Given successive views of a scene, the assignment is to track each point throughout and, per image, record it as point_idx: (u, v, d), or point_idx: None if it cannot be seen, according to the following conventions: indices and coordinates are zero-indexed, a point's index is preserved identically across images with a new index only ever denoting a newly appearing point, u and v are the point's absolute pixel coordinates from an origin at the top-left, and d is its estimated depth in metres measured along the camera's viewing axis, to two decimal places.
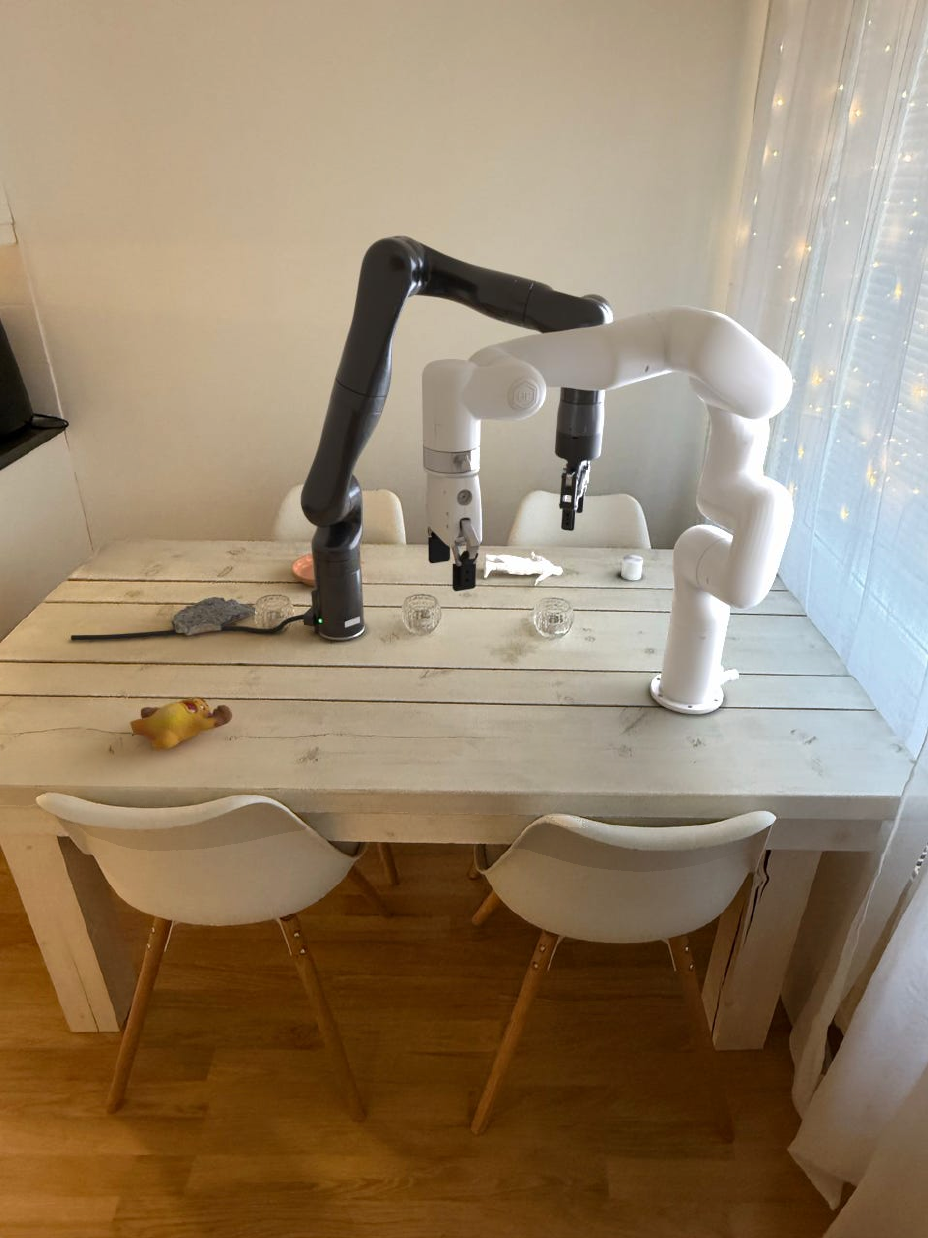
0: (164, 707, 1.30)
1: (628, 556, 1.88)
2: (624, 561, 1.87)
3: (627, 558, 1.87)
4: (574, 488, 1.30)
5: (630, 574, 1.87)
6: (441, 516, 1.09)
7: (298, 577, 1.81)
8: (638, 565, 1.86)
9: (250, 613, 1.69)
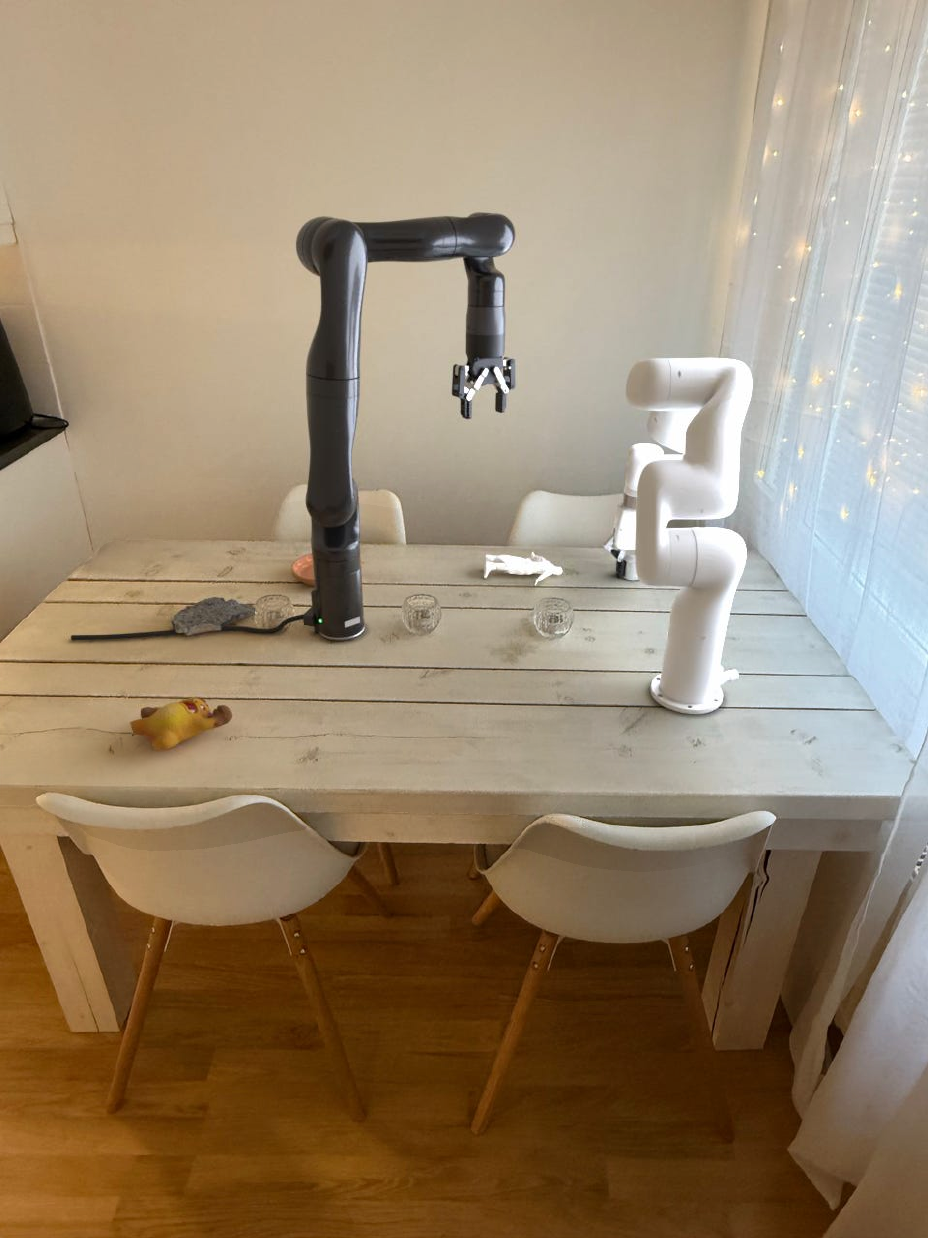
0: (164, 707, 1.30)
1: (628, 556, 1.88)
2: (624, 561, 1.87)
3: (627, 558, 1.87)
4: None
5: (630, 574, 1.87)
6: None
7: (298, 577, 1.81)
8: None
9: (250, 613, 1.69)
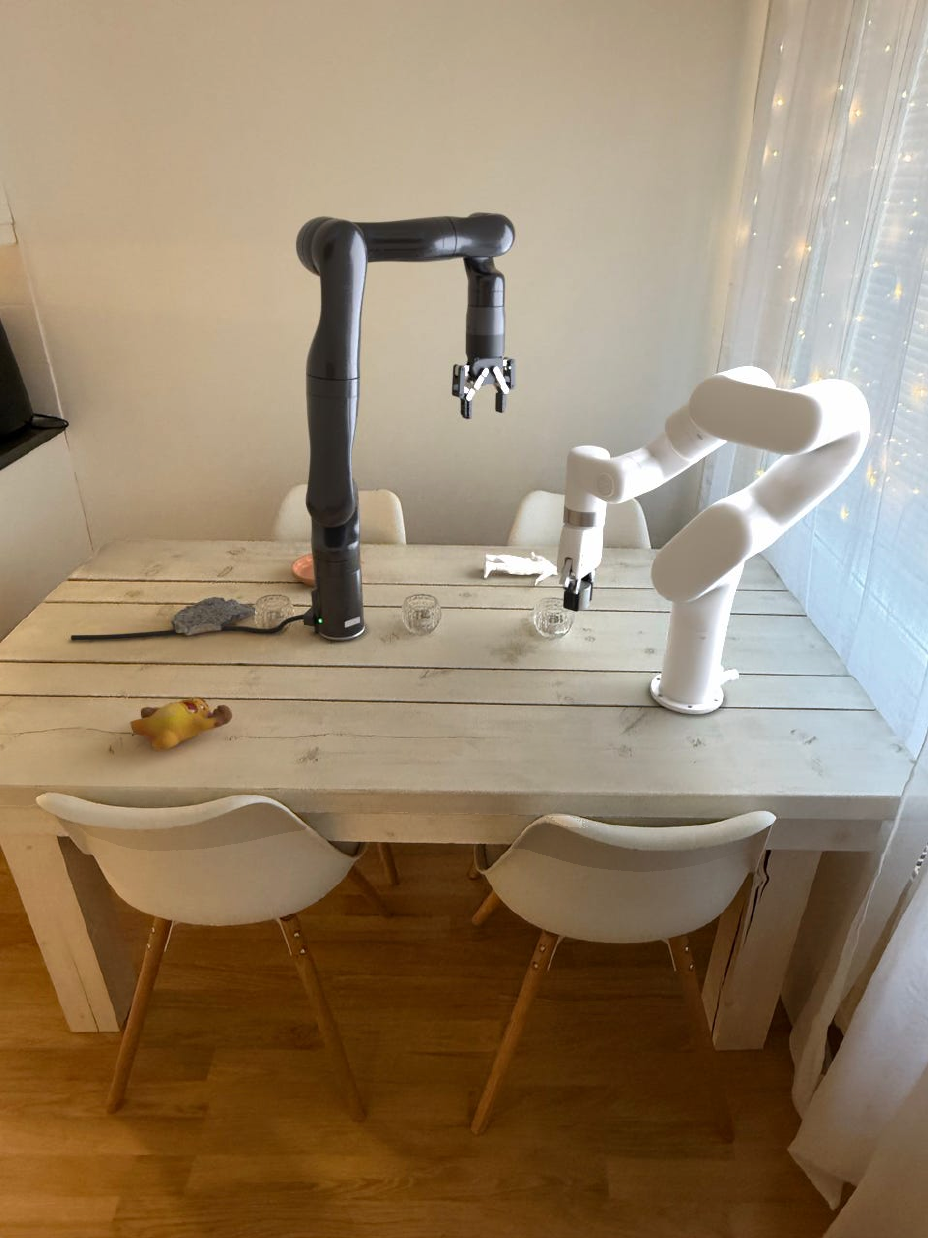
0: (164, 707, 1.30)
1: None
2: None
3: None
4: None
5: (585, 602, 1.55)
6: (598, 549, 1.52)
7: (298, 577, 1.81)
8: None
9: (250, 613, 1.69)
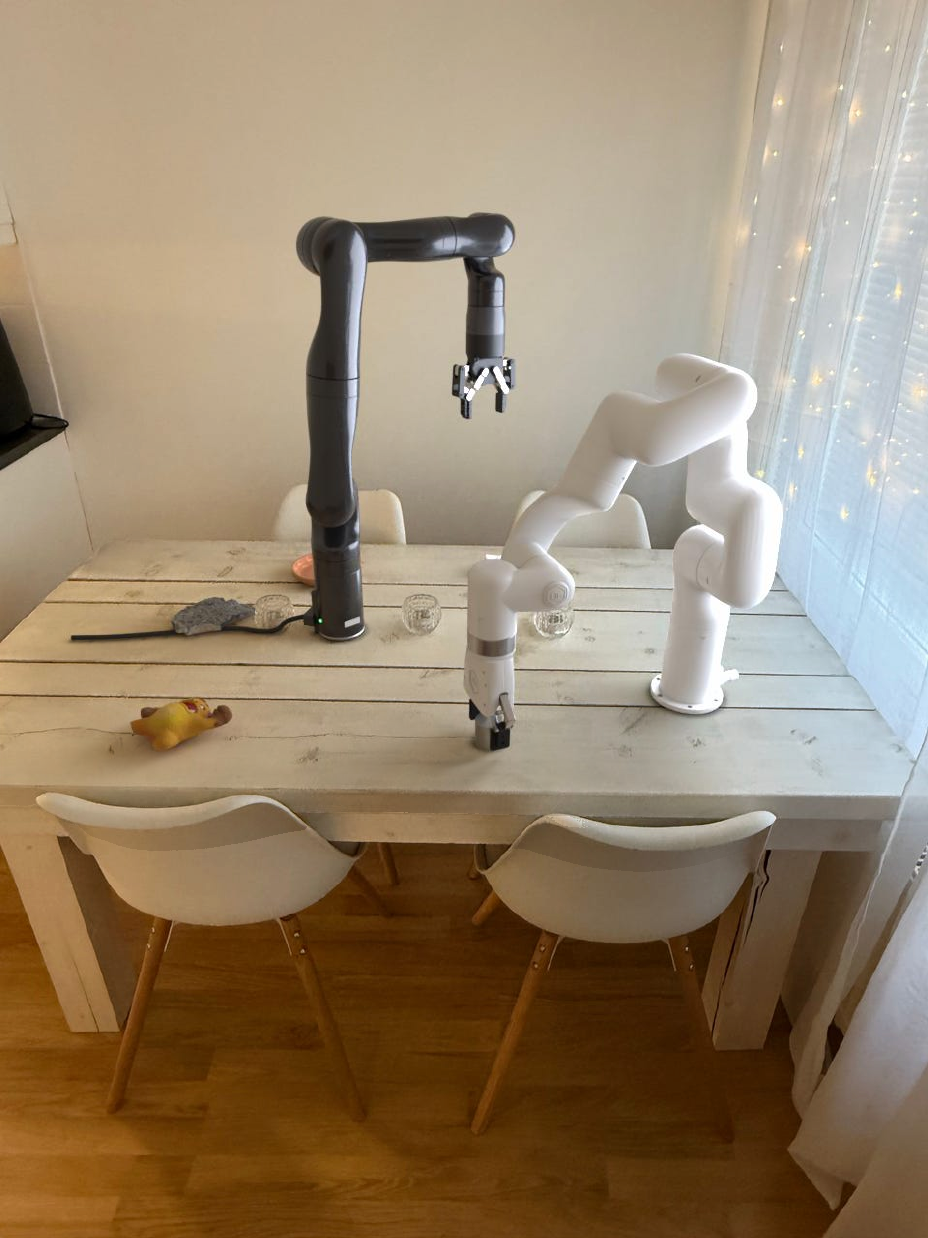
0: (164, 707, 1.30)
1: (483, 723, 1.30)
2: None
3: (491, 723, 1.30)
4: None
5: None
6: None
7: (298, 577, 1.81)
8: None
9: (250, 613, 1.69)
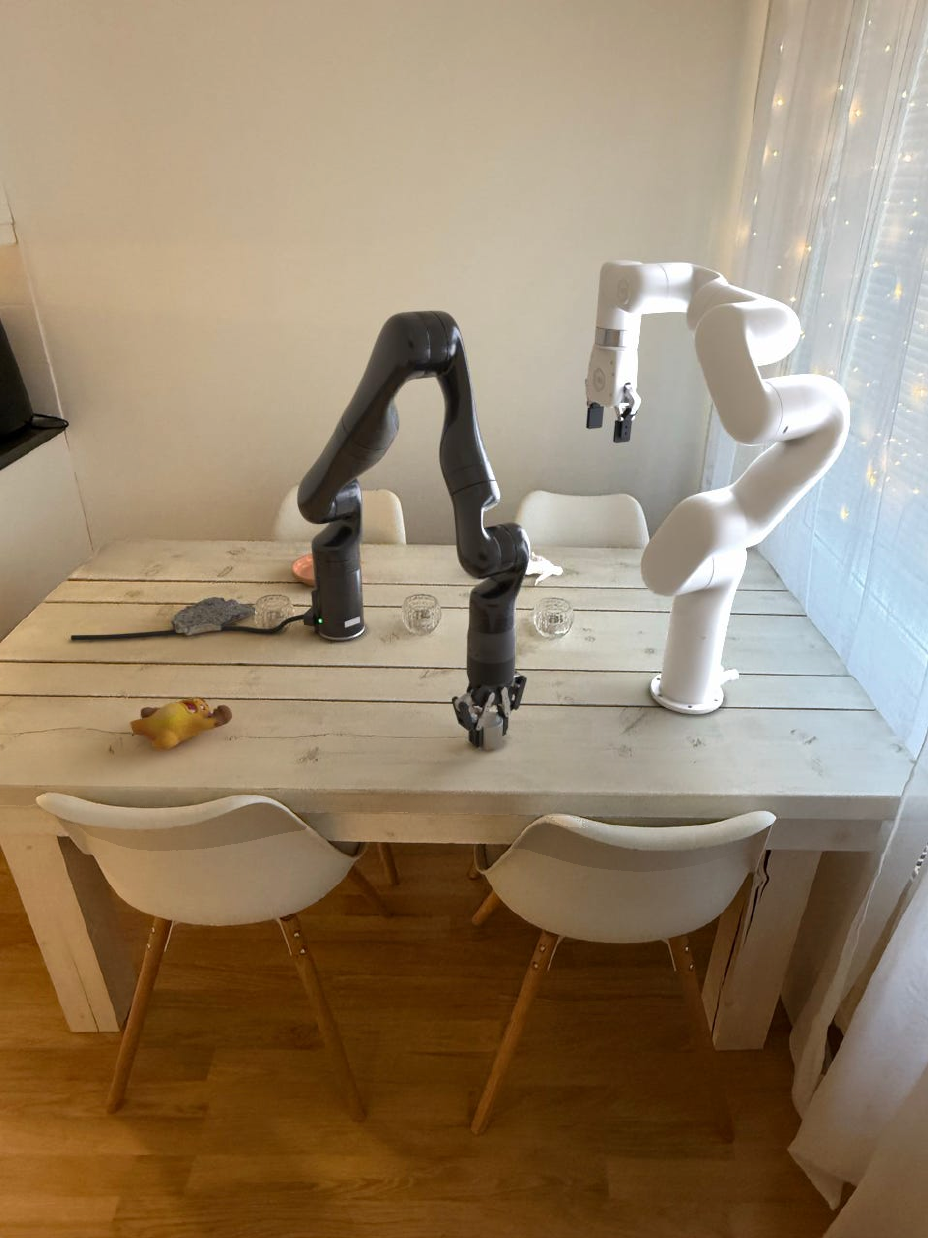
0: (164, 707, 1.30)
1: (483, 723, 1.30)
2: (498, 727, 1.30)
3: (491, 723, 1.30)
4: None
5: (502, 733, 1.33)
6: None
7: (298, 577, 1.81)
8: None
9: (250, 613, 1.69)
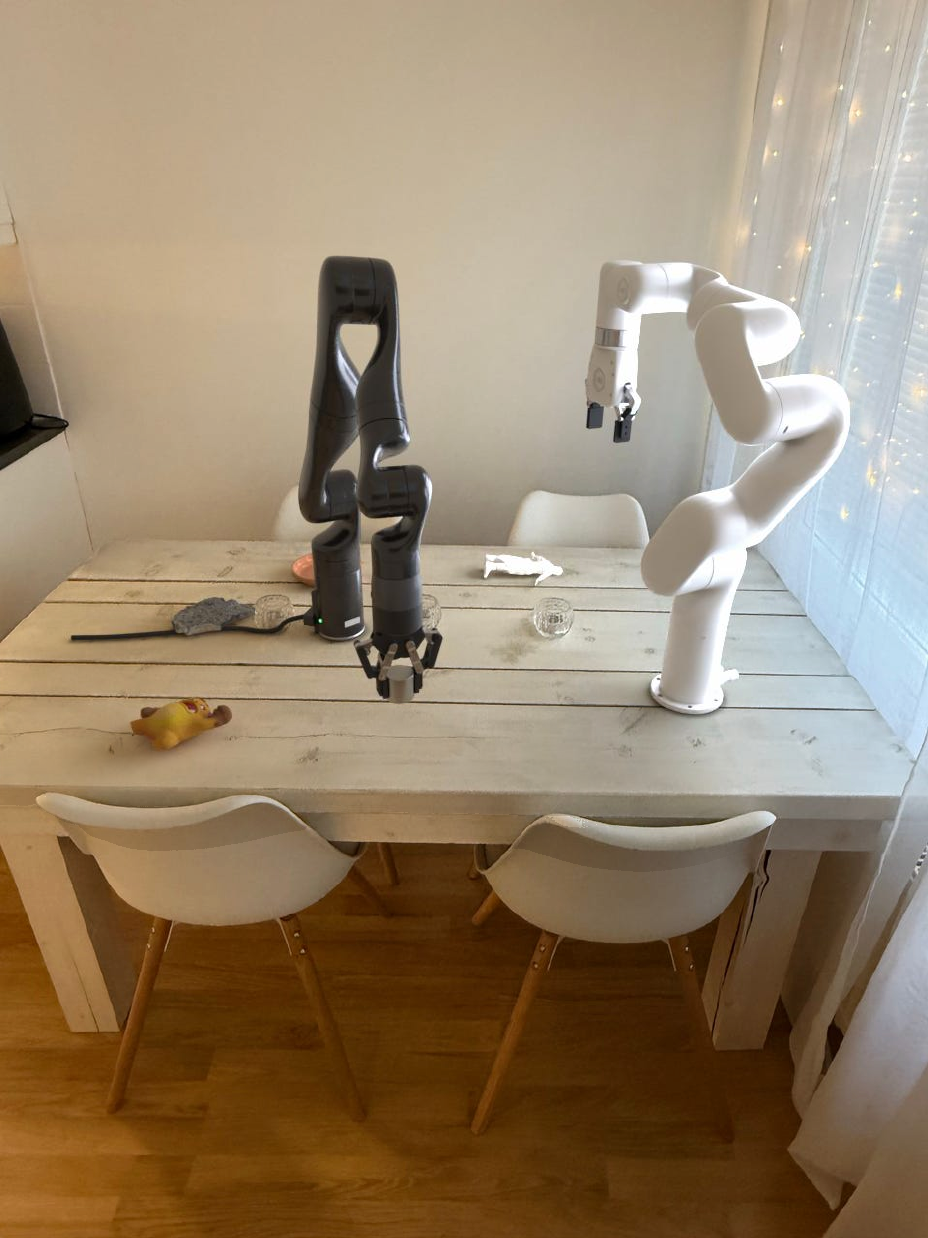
0: (164, 707, 1.30)
1: (390, 675, 1.26)
2: (403, 681, 1.25)
3: (397, 676, 1.26)
4: None
5: (413, 690, 1.28)
6: None
7: (298, 577, 1.81)
8: None
9: (250, 613, 1.69)
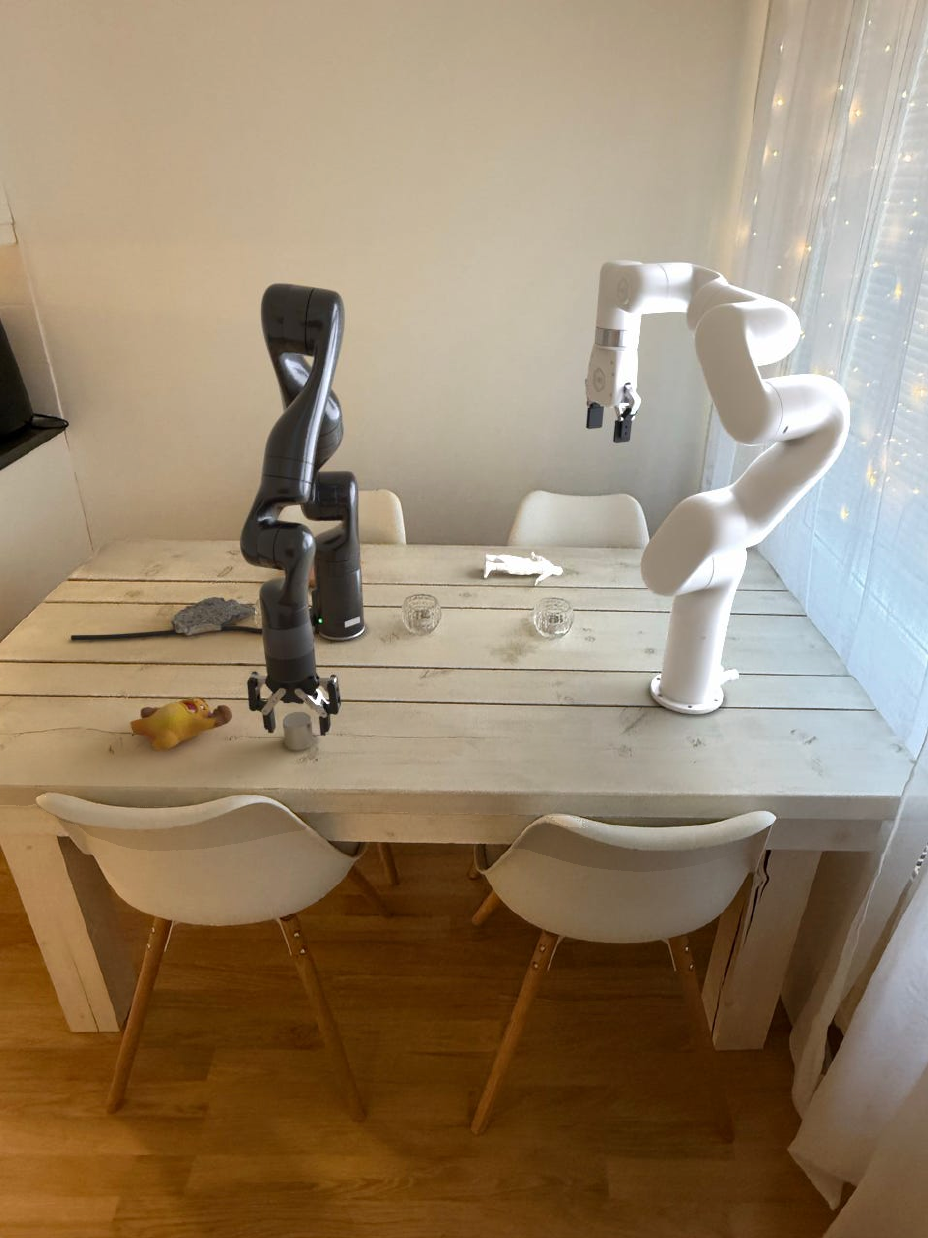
0: (164, 707, 1.30)
1: (287, 720, 1.30)
2: (294, 729, 1.29)
3: (291, 723, 1.29)
4: (338, 687, 1.28)
5: (307, 739, 1.31)
6: None
7: None
8: (311, 722, 1.31)
9: (250, 613, 1.69)
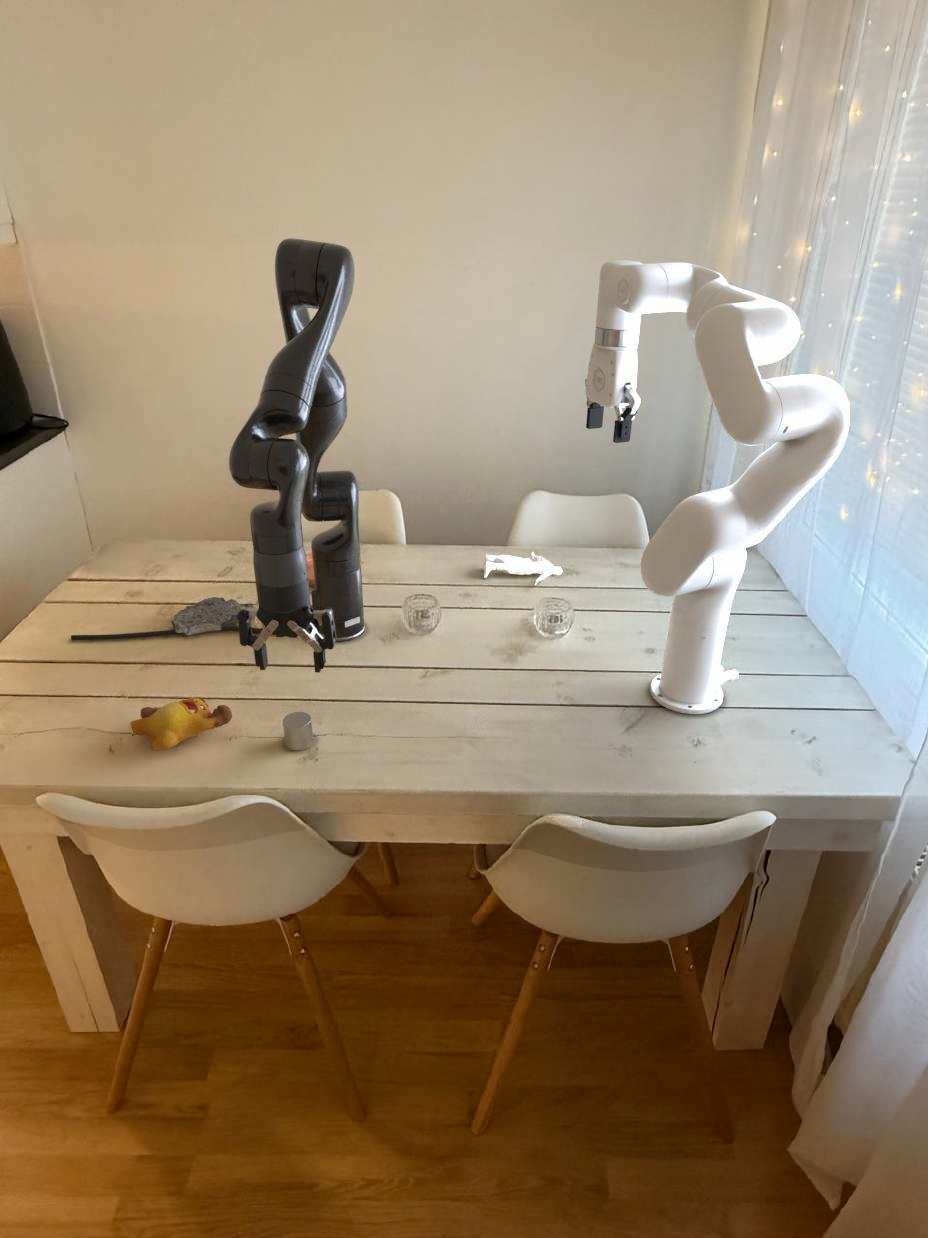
0: (164, 707, 1.30)
1: (287, 720, 1.30)
2: (294, 729, 1.29)
3: (291, 723, 1.29)
4: (333, 620, 1.23)
5: (307, 739, 1.31)
6: None
7: None
8: (311, 722, 1.31)
9: None
